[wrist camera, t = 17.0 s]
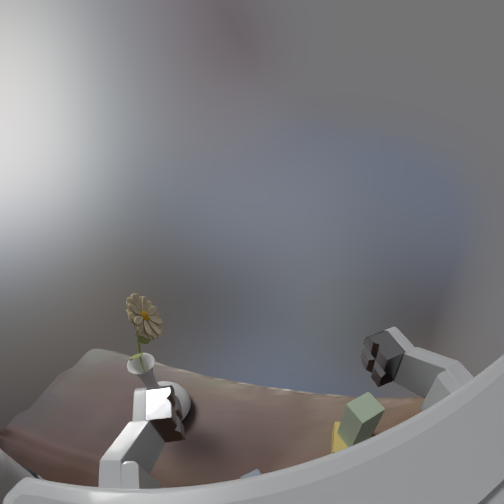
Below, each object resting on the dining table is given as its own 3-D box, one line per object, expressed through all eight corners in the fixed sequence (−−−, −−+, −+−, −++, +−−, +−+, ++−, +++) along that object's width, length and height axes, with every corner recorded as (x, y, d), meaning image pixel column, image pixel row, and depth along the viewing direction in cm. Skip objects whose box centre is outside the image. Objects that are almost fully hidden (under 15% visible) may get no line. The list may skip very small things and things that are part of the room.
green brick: (370, 437, 36) (385, 409, 32) (350, 449, 35) (362, 423, 31) (357, 421, 40) (368, 391, 36) (337, 432, 38) (346, 403, 35)
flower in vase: (178, 440, 42) (124, 343, 31) (128, 421, 46) (68, 325, 35) (204, 389, 54) (173, 286, 42) (157, 376, 57) (118, 279, 46)
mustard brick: (365, 459, 36) (370, 451, 34) (330, 459, 37) (332, 452, 35) (365, 430, 41) (369, 421, 39) (332, 430, 42) (334, 421, 41)
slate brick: (279, 500, 31) (279, 496, 30) (262, 509, 30) (261, 505, 29) (258, 474, 36) (257, 468, 35) (242, 482, 35) (239, 477, 34)
